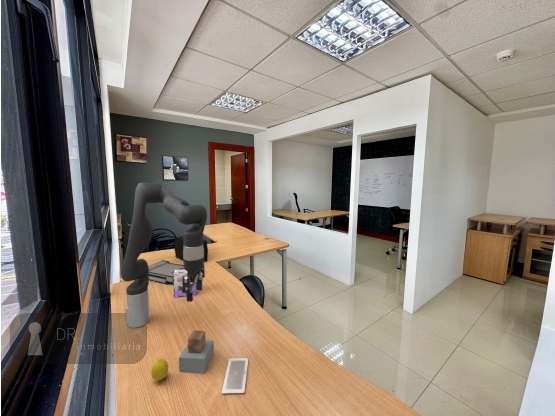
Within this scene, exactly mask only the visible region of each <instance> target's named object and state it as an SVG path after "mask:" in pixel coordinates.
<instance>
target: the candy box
mask: <svg viewBox="0 0 555 416" xmlns="http://www.w3.org/2000/svg"><path fill="white" fill-rule="evenodd" d="M183 277H187V271H186V270H185V269H181V270H174V273H173V283H172V284H173V298H175V299H176V298H182V297H186V293H182V279H183ZM196 282H197V281H196ZM190 284H192V283H190ZM185 289H186V287H185ZM190 289H191V286H190ZM192 292H193V296H197V295H198V290H197V287H196V284H195V286H194V287H193V291H192Z"/></svg>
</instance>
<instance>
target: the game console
mask: <svg viewBox="0 0 555 416" xmlns="http://www.w3.org/2000/svg"><path fill="white" fill-rule="evenodd" d="M148 267H149V280H150V281H149V282H153V281H154V282H153V283H157V282H158V284H163V285H167V286H169V285H171V284H173V273H174V270H181V269H184V264H177V263H173V262H170V261H169V260H164V259H162V260H159V261H157V262H154V263H152V264H148Z"/></svg>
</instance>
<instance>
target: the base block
mask: <svg viewBox="0 0 555 416" xmlns="http://www.w3.org/2000/svg"><path fill="white" fill-rule="evenodd" d="M205 342H206V344H205V346H204V348H203V350H202V352H201V354H200V353H188V343H187V344H186V345H185V347H184V349H183V350H182V352H181V353H180V354H179V357H178V371H179V373H180V372H181V373H196V374H205V373H206V371H207V369H208V367H209V365H210V363H211V360H212V358H213V356H214V353H215V349H214V348H215V346H214V345H215V343H214V340H211V339H205Z"/></svg>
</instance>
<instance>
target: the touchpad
mask: <svg viewBox="0 0 555 416" xmlns="http://www.w3.org/2000/svg"><path fill="white" fill-rule="evenodd" d="M248 363H249V357H247V358H241V357H240V358H237V357H236V358H229V359H228V364H227V367H226V371H225V376H224V381H223V386H222V389H221V394H244V393H245V390H246V380H247V373H248Z"/></svg>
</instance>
